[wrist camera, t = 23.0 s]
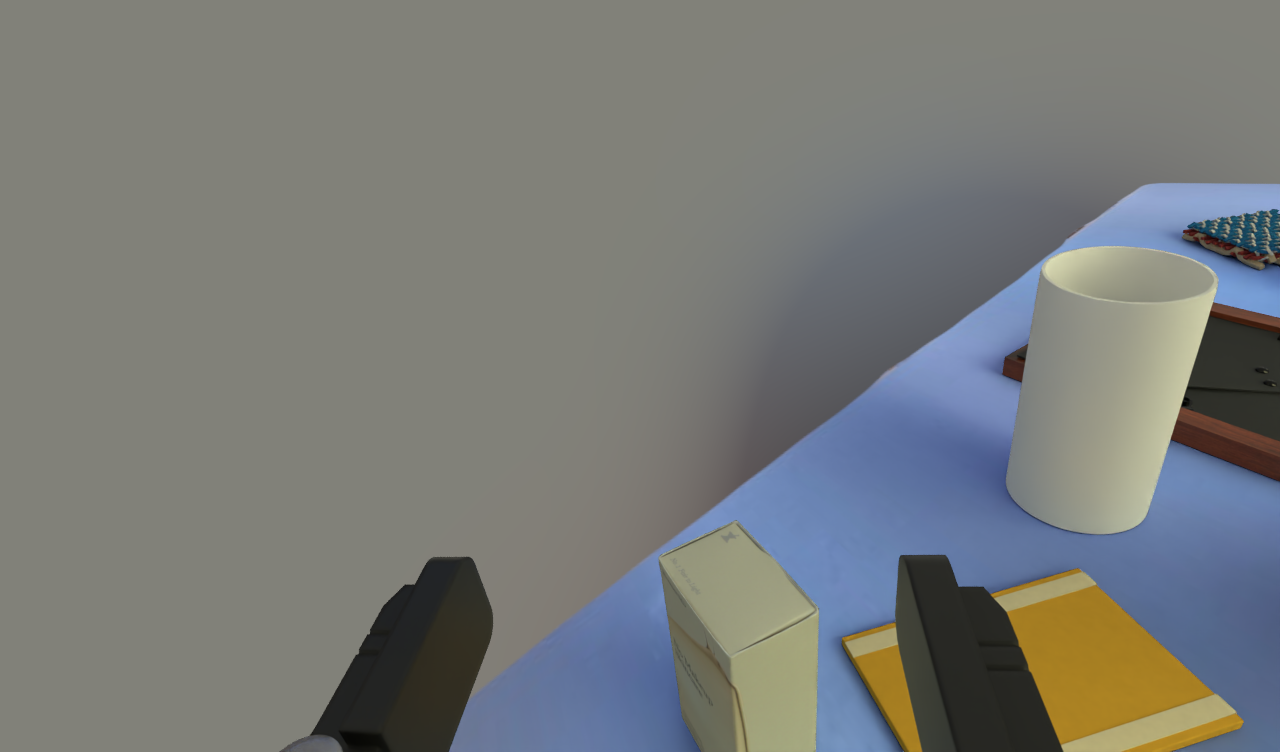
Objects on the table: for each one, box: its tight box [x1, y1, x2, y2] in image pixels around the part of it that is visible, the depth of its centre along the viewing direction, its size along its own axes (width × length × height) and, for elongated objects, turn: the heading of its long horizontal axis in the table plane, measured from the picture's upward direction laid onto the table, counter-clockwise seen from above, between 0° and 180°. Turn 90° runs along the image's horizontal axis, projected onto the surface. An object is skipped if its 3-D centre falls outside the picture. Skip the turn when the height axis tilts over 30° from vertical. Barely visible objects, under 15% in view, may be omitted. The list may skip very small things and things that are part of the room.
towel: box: [842, 568, 1244, 752], centre depth 35 cm, size 15×10×1 cm, turn 102°
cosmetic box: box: [658, 520, 819, 752], centre depth 31 cm, size 6×4×12 cm
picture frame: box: [1002, 302, 1280, 481], centre depth 53 cm, size 20×2×25 cm
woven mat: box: [1182, 209, 1280, 270], centre depth 72 cm, size 10×11×2 cm
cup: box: [1006, 246, 1218, 534], centre depth 42 cm, size 8×8×16 cm
